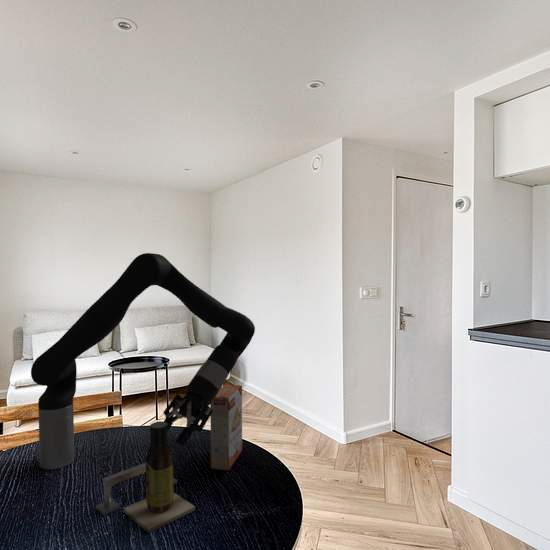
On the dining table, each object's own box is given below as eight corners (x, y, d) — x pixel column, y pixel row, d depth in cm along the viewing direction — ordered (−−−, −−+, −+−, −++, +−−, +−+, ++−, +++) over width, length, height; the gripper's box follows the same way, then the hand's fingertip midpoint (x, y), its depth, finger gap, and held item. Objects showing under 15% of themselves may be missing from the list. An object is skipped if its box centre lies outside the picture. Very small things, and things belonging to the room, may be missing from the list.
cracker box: (230, 471, 117) (229, 397, 117) (209, 470, 119) (208, 396, 118) (243, 450, 131) (242, 384, 131) (225, 449, 132) (224, 383, 132)
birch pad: (123, 511, 98) (123, 508, 98) (168, 491, 107) (168, 488, 107) (148, 533, 90) (148, 529, 90) (195, 510, 99) (195, 506, 99)
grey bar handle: (95, 508, 100) (95, 478, 100) (169, 478, 114) (169, 451, 114) (102, 515, 97) (102, 484, 97) (177, 483, 111) (177, 456, 111)
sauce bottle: (151, 499, 102) (149, 418, 102) (176, 499, 102) (175, 418, 102) (142, 515, 95) (141, 428, 95) (169, 514, 95) (168, 428, 95)
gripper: (183, 369, 112) (144, 423, 104) (215, 378, 102) (175, 439, 94) (200, 385, 115) (164, 438, 107) (233, 395, 105) (195, 455, 97)
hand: (169, 439), depth 100 cm, fingers open, 8 cm apart
